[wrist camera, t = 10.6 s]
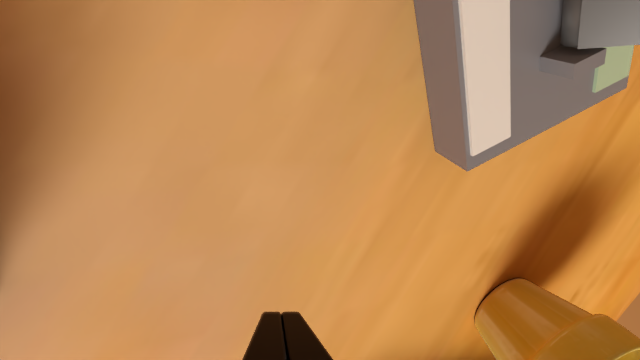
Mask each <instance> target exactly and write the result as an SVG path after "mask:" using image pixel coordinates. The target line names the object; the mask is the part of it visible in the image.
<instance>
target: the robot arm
mask: <svg viewBox="0 0 640 360" xmlns="http://www.w3.org/2000/svg"><path fill="white" fill-rule="evenodd" d="M243 360H333V359H332V358H331V356H330V355H329V353H328V352H327V351H326V349H325V348H324V346H323V345H322V344H321V342H320V341H319V339H318V338H317V337H316V335H315V334H314V332H313V331H312V330H311V328H310V327H309V325H308V324H307V323H306V321H305V320H304V319H303V317H302V316H301V314H300V313H299V312H283V313H282V314H280V312H264V313H263V314H262V316H261V318H260V320H259V323H258V325H257V327H256V330H255V332H254V334H253V337H252V339H251V341H250V343H249V346H248V348H247V350H246V353H245V355H244V357H243Z"/></svg>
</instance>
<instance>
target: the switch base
mask: <svg viewBox="0 0 640 360" xmlns="http://www.w3.org/2000/svg"><path fill="white" fill-rule="evenodd" d="M414 6H415V13H416V20H417V27H418V34H419V41H420V48H421V55H422V62H423V69H424V76H425V83H426V90H427V97H428V104H429V111H430V118H431V125H432V132H433V139H434V146H435V151H436V152H437V153H439V154H440V155H442V156H444V157H445V158H447V159H448V160H450V161H451V162H453V163H455V164H456V165H458V166H459V167H461V168H462V169H464V170H466V171H469V170H471V169H473V168H475V167H477V166H479V165H481V164H483V163H484V162H486V161H488V160H490V159H492V158H494V157H496V156H498V155H500V154H502V153H503V152H505V151H507V150H509V149H511V148H513V147H515V146H517V145H519V144H521V143H522V142H524V141H526V140H528V139H530V138H532V137H534V136H536V135H538V134H540V133H542V132H543V131H545V130H547V129H549V128H551V127H553V126H555V125H557V124H559V123H561V122H562V121H564V120H566V119H568V118H570V117H572V116H574V115H576V114H578V113H580V112H581V111H583V110H585V109H587V108H589V107H591V106H593V105H595V104H597V103H599V102H600V101H602V100H604V99H606V98H608V97H610V96H612V95H614V94H616V93H618V92H619V91H621V90H623V89H625V88H626V87H627V82H628V76H629V71H630V66H631V60H632V55H633V49H634V45H628V46H615V47H601V48H588V49H577V48H578V47H566V46H563V45H562V44H561V43H560V41H561V27H562V12H563V0H414Z"/></svg>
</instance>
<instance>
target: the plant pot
mask: <svg viewBox="0 0 640 360" xmlns="http://www.w3.org/2000/svg"><path fill="white" fill-rule="evenodd" d="M475 326H476V328H477V330H478V331H479V333H480V335H481V336H482V338H483V339H484V341H485V342H486V344H487V345H488V347H489V349H490V350H491V352H492V353H493V355H494V357H495V358H496V360H640V339H639V338H638V337H637V336H635V335H634V334H632V333H631V332H630V331H629V330H627V329H626V328H624V327H623V326H622V325H620V324H619V323H617V322H616V321H614V320H613V319H611V318H610V317H608V316H606V315H603V314H594V315H592V314H590V313H589V312H587V311H585V310H583V309H581V308H579V307H577V306H575V305H573V304H571V303H570V302H568V301H566V300H564V299H562V298H560V297H558V296H556V295H554V294H552V293H551V292H549V291H547V290H545V289H543V288H541V287H539V286H537V285H536V284H534V283H532V282H530V281H528V280H526V279H521V278H517V279H512V280H509V281H507V282H505V283H503V284H501V285H500V286H498V287H497V288H496V289H494V290H493V291H492V292H491V293H490V294H489V295H488V296H487V297H486V298H485V299H484V300H483V302H482V303H481V305H480V306H479V308H478V310H477V312H476V315H475Z"/></svg>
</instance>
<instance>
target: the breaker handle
mask: <svg viewBox="0 0 640 360" xmlns="http://www.w3.org/2000/svg"><path fill="white" fill-rule="evenodd" d="M560 43H561V44H562V45H563V46H566V47H578V48H577V49H588V48H601V47H615V46H628V45H640V0H563V12H562V27H561V41H560Z"/></svg>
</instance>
